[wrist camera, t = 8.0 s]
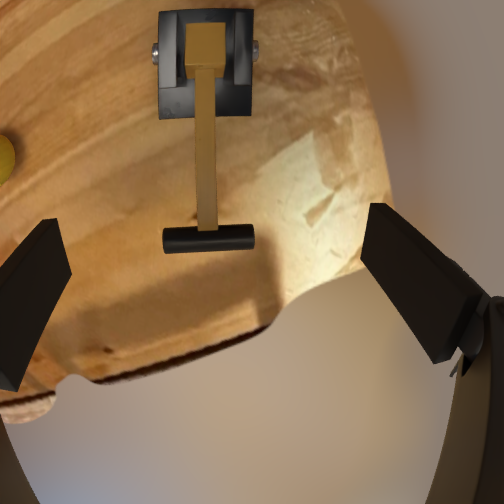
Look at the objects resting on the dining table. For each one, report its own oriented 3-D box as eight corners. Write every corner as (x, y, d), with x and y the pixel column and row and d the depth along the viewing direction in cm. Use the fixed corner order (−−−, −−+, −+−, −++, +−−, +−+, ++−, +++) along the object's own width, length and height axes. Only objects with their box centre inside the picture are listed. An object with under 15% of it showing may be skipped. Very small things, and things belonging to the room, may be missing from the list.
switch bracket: (249, 114, 27) (277, 135, 17) (160, 118, 26) (133, 140, 16) (252, 11, 22) (282, -29, 12) (160, 14, 21) (133, -26, 11)
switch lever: (250, 245, 20) (256, 253, 17) (167, 249, 19) (162, 258, 17) (245, 39, 17) (250, 22, 15) (165, 41, 16) (161, 25, 14)
